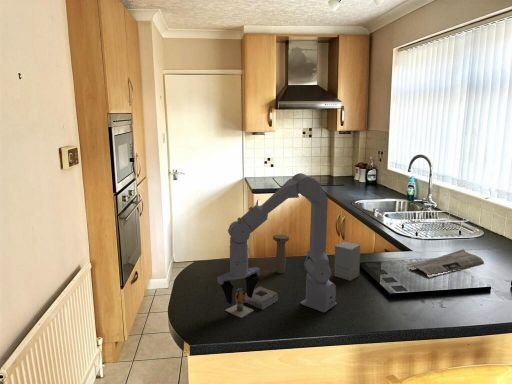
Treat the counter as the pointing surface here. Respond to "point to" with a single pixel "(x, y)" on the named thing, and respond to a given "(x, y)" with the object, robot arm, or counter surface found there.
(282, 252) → the handle
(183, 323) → the counter surface
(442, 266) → the newspaper
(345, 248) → the supplement box
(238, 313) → the mat
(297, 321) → the counter surface
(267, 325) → the counter surface
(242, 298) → the amber medicine bottle
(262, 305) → the block
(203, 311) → the counter surface
